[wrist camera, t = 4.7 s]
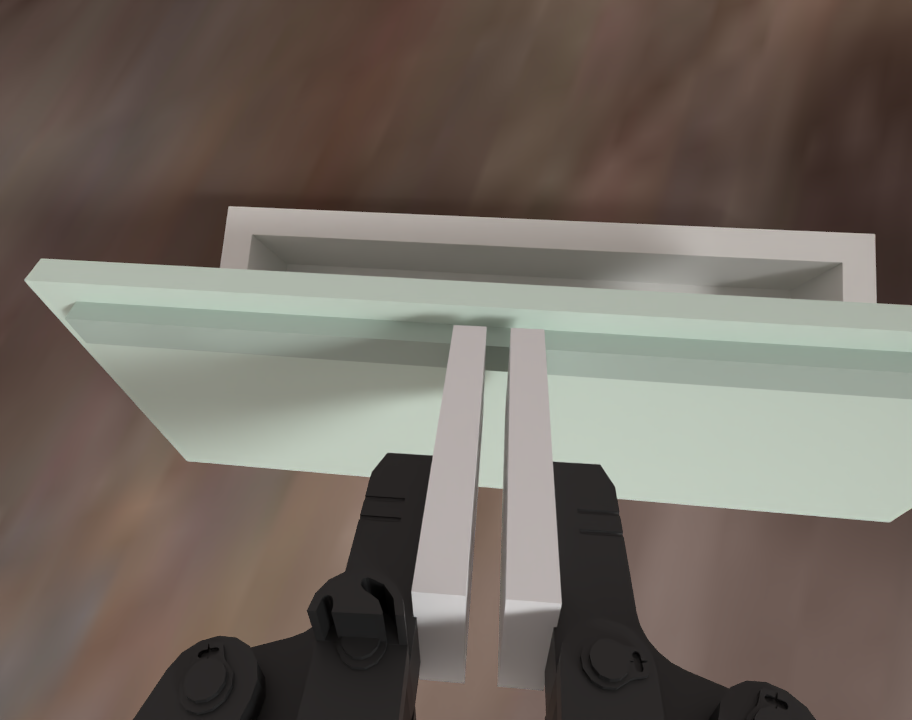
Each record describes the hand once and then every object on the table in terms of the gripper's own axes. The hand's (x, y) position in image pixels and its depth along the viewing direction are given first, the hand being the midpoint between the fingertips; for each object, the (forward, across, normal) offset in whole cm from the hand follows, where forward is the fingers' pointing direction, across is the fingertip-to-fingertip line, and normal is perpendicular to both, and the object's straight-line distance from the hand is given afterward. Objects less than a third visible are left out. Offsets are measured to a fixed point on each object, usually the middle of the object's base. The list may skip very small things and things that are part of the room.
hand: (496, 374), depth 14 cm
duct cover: (+3, +1, -3) cm, 4 cm away
